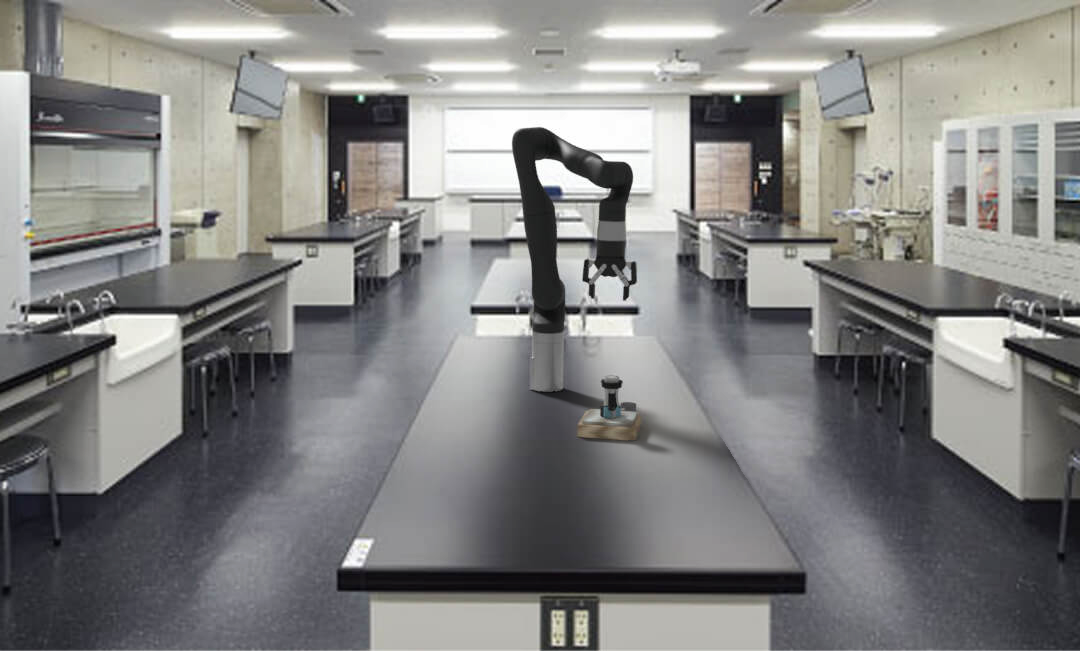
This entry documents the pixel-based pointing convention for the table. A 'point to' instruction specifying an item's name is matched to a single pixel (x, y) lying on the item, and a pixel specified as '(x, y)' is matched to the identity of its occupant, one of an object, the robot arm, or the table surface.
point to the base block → (609, 425)
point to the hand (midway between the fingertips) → (608, 299)
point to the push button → (611, 397)
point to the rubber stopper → (628, 406)
